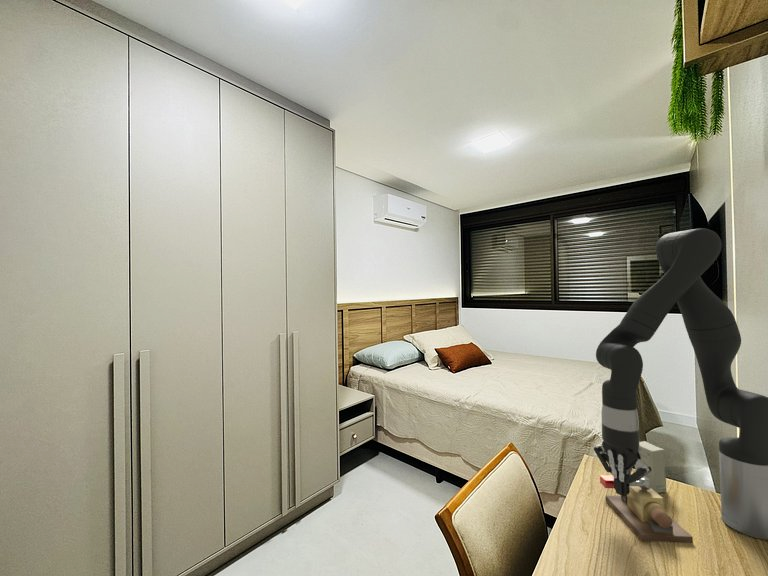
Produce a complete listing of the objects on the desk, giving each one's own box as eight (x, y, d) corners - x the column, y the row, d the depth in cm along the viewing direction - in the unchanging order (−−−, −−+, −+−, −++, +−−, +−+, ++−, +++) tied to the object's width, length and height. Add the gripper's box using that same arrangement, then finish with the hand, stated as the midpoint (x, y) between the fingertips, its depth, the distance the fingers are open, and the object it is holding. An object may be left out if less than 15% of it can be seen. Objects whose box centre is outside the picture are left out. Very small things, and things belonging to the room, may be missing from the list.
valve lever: (646, 483, 86) (645, 476, 86) (653, 489, 84) (652, 481, 84) (599, 482, 87) (599, 474, 87) (605, 488, 85) (605, 480, 85)
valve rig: (605, 500, 93) (604, 471, 93) (647, 502, 92) (646, 472, 92) (642, 541, 78) (640, 505, 78) (692, 543, 77) (691, 507, 77)
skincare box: (667, 492, 96) (665, 449, 96) (654, 494, 95) (652, 451, 95) (646, 480, 102) (645, 440, 102) (634, 481, 102) (632, 441, 102)
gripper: (659, 431, 77) (661, 506, 77) (604, 412, 90) (605, 477, 90) (638, 437, 75) (640, 514, 75) (584, 416, 87) (586, 483, 87)
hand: (621, 494), depth 82 cm, fingers closed
